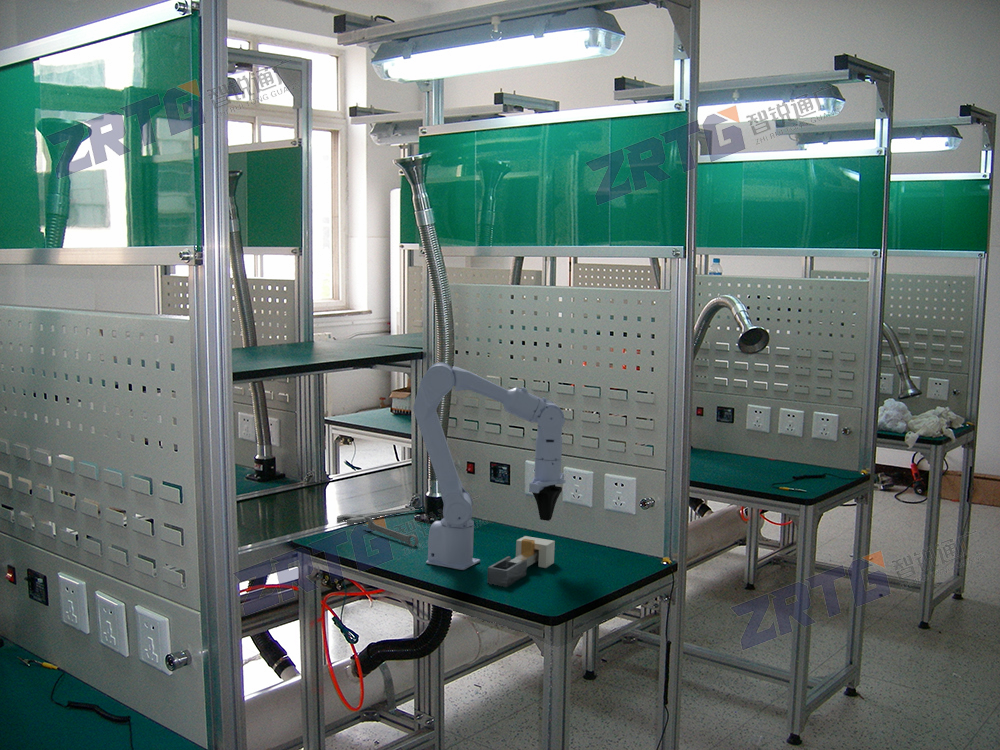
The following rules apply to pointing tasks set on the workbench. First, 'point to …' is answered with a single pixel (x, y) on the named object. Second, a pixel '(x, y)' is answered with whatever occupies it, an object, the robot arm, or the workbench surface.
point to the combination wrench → (391, 532)
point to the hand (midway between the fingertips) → (545, 519)
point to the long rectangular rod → (526, 553)
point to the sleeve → (506, 572)
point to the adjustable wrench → (370, 515)
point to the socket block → (540, 550)
